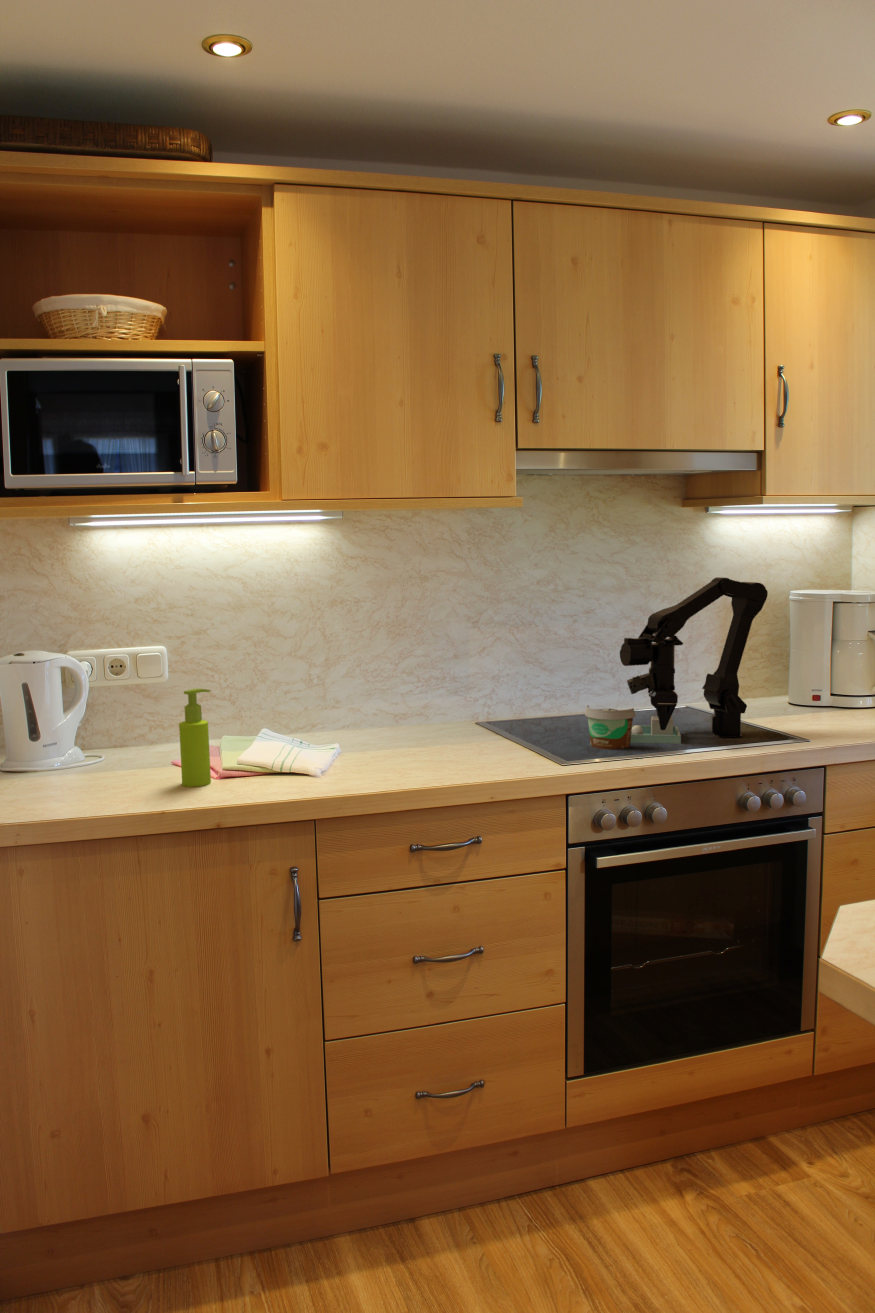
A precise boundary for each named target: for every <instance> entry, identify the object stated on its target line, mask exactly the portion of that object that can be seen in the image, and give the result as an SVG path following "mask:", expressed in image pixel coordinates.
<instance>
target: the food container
mask: <svg viewBox="0 0 875 1313" xmlns="http://www.w3.org/2000/svg"><path fill="white" fill-rule="evenodd" d="M584 716H585V717H587V723H588V733H589V742H590V746H591V747H593V748H596V749H601V750H623V749H628V748H630V747H631V743H630V740H631V731H632V726H633V722H634V721H633V720H634V718H636V717H637V716H636V711H635V709H634V707H632V708H629V709H615V708H602V709H601V708H599V709H597V708H591V707H590V706H589V705H586V707H585V712H584Z"/></svg>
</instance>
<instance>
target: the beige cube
mask: <svg viewBox="0 0 875 1313" xmlns="http://www.w3.org/2000/svg"><path fill="white" fill-rule="evenodd" d="M650 717H651V718H650V721H651V722H650V726H651V735H673V726H674V718H673V716H671V718H670V720H669V722H668V725H667V727H666V729H665V730H661V729H660V723H659V718H658V716H657V715H655V716H650Z"/></svg>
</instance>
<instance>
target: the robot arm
mask: <svg viewBox="0 0 875 1313" xmlns="http://www.w3.org/2000/svg"><path fill="white" fill-rule="evenodd" d="M768 592H769V591H768V589H767V588H766V586H765V585H764V584H763V583H761V582H755V581H754V582H753V581H750V582H749V581H738V580H733V579H732V578H731V579H730V578H729V577H714V578H713V579H712V580H711V581H710V582H708V583H706V584H705V585H704V586H702V587H701V588H699V589H698V590H696V591H695V592H694V593H692V594H690V595H689V596H687V597H686V598H684V599H683V600H681V601H680V602H679V603H677V604H675V605H673V606H669V607H666V608H662V609H661V610H658V611H656V612H653V613H652V614H651V615H649V616H648V618H647V624H646V625H645V627H644V628H643V630H642V632H641V633H640V634H639V636H638V637H637V638H636V637H635V638H633V637H624V639H623V643H622V645H621V647H620V650H619V659H620V661H621V664H622V665H623V666H625V667H630V666H647V665H649V663H650V667H649V668H648V672H647V673H644V674H640V675H637V676H632V677H631V678H629V679H627V680H626V682H627V686H628V688H629V691H630V694H631V695H634V694H637V693H638V692H641V691H645V690H646V689H647V693H648V697H649V699H650V704H651V706H653V707H654V709H655V711H656V716H658V718H659V723H660V729H661V730H665V729H666V727H667V725H668V722H669V720H670V718H671V717H673V713H674V712H675V709H676V707H677V706H678V703H679V702H678V701H679V699H678V698H679V697H678V696H679V695H678V694H677V693H678V692H676V691H675V690H676V689H675V688H676V686H675V674H676V667H675V656H676V655H675V650H676V649H675V646H676V647H677V646H683V645H684V642H683V641H682V640H680V639H679V638H678V636H677V634H678V632H680V631H681V630H682V629H683V628H684V627H685V625H686V623H687V621H688V620H689V619H690V618H692V617H693V616H695V615H696V614H698V613H699V612H701V611H702V610H703V609H705V608H707V607H708V606H709V605H711V604H713V603H714V602H716V601H718V600H719V599H720V598H722V597H723V596H725V597H727V598H730V599H731V602H730V604H731V609H732V618H731V622H730V624H729V629H728V633H727V636H726V639H725V642H724V646H723V648H722V653H721V656H720V659H719V663H718V665H717V666H718V667H717V668H716V670H715V671H714V672H713V673H707V674H706V676H705V682H704V684H703V686H702V688H701V689H703V697H704V699H705V700H706V702H707V703H708V706H709V709H710V710H713V715H711V720H710V721H711V722H710V723H711V724H710V725H711V726H710V728H711V729H710V731H711V732H710V733H712V734H714V736H718V737H719V738H742V736H743V735H742V733H741V731H742V730H741V727H742V726H741V725H742V723H741V722H742V714H745V713H746V710H747V707H748V705H747V704H746V702H745V701H744V700H743V699H742V698H741V697H740V696H739V691H740V682H739V677H738V672H739V668H740V666H741V663H742V658H743V656H744V651H745V648H746V645H747V641H748V637H749V633H750V630H751V628H752V624H753V621H754V619H755V618H756V616H757V615H758V614H759V613H760V612H761V611H762V610H763V608H764V605H765V603H766V601H767V599H768V595H769V594H768Z"/></svg>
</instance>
